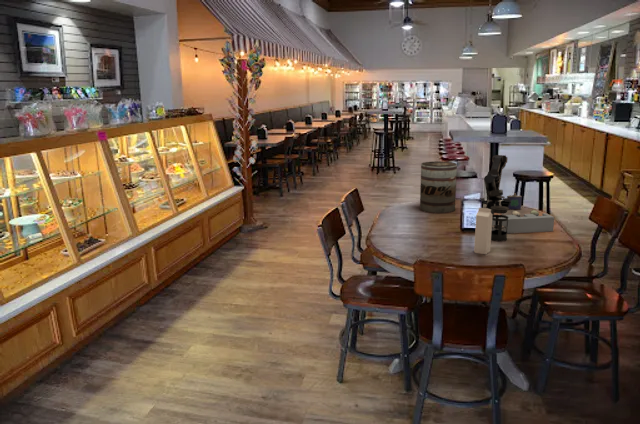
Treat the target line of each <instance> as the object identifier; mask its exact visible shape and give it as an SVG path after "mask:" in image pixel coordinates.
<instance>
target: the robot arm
mask: <svg viewBox="0 0 640 424" xmlns="http://www.w3.org/2000/svg"><path fill="white" fill-rule="evenodd" d="M491 159H492V160H491V161H492V165H491V169H490V170H489V171H488V172H487V174H486V175H485V176H484V179H483V182H484V186H485V193H486V200H485V198H484V197H479V198H480V199H481V201H482V207H483V205H486V206H485V208H486V209H491V207H492V206H505V207H509V205H510V203H511V200H510V199H509V198H507V197H506V198H501V202H500V200H499V198H497V197H496V196H503V195H504V192H503V189H500V186H501V179H502V173H503V170H504V169H505V167H506V164H507V163H508V156H507V155H506V154H505V155H503V154H500V155H499V154H495V155H493V156H492V158H491ZM491 213H492V214H493V215H494V213H493V212H491Z"/></svg>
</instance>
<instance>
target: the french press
mask: <svg viewBox="0 0 640 424" xmlns="http://www.w3.org/2000/svg"><path fill="white" fill-rule="evenodd" d="M496 197H497V198H499V200H500V202H501V198H502V199H503V198H505V196H503V195H502V196H496ZM508 209H509V208H508V207H505V206H492V207H491V212H493V213H499V215H492V217H496V218H492V220H493V221H495V225H492V229H494V230H492V231H491V241H494V242H505V241H507V240H508V234H507V226H508V217H507V216H505V215H506V213H507V212H508V211H509V210H508ZM500 214H502V215H500ZM503 214H505V215H503ZM499 217H501V218H506V219H499ZM502 221H507V226H503V225H502ZM505 229H506V232H505V231H502V230H505Z"/></svg>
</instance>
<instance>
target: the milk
mask: <svg viewBox="0 0 640 424" xmlns="http://www.w3.org/2000/svg"><path fill="white" fill-rule="evenodd" d="M492 215H493V214H492V213H491V209H488V208H486V207H478V210H477V213H476V215H475V232H474V246H473V247H474V248H473V249H474V250H473V253H474V254H475V253H476V254H481V255H487V254H489V253H490V252H491V245H492V244H491V243H492V242H491V241H492V240H491V231H492Z"/></svg>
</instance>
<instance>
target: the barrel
mask: <svg viewBox="0 0 640 424" xmlns="http://www.w3.org/2000/svg"><path fill="white" fill-rule="evenodd" d="M457 172H458V164H457V163H456V162H451V161H440V160H439V161H426V162H422V163H421V164H420V194H419V197H420V198H419V200H420V201H419V210H420V211H421V212H424V213H428V214H437V215H438V214H439V215H440V214H443V215H444V214H451V213H454V212H455V211H456V199H457V198H456V195H457V193H456V191H457V176H458V175H457V174H458V173H457Z"/></svg>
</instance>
